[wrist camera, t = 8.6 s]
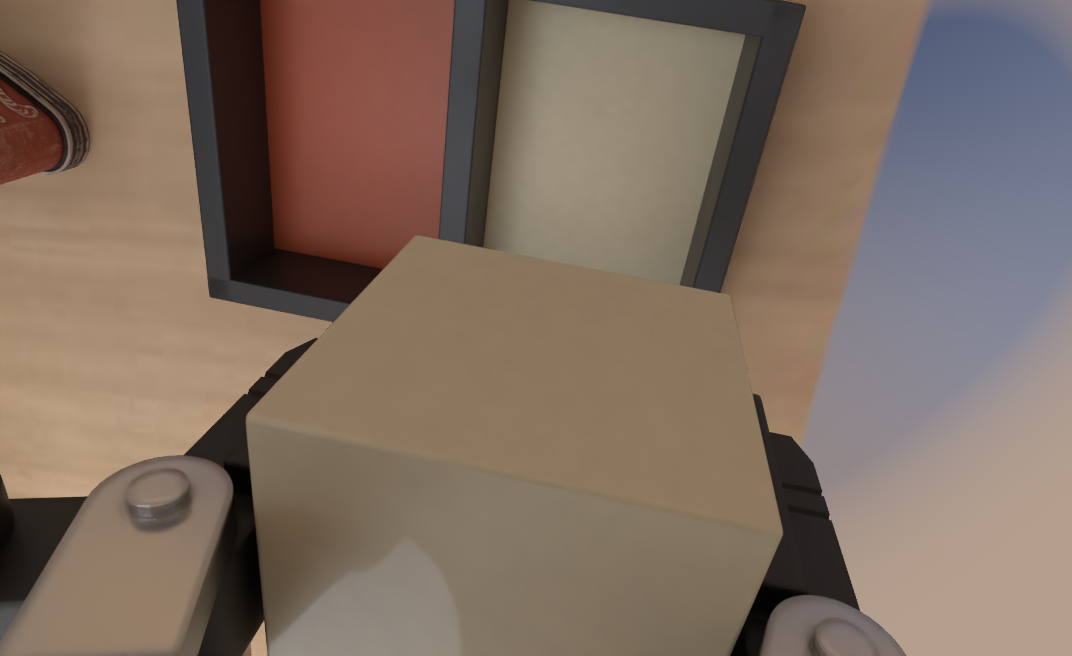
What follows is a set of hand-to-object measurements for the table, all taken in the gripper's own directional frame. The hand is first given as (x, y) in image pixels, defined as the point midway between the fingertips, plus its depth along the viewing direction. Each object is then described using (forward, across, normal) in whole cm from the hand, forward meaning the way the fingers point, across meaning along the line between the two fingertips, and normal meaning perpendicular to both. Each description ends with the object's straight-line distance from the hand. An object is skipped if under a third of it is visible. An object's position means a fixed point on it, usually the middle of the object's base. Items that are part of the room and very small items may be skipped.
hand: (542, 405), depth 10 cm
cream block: (0, 0, 0) cm, 0 cm away
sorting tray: (+13, +4, 0) cm, 13 cm away
